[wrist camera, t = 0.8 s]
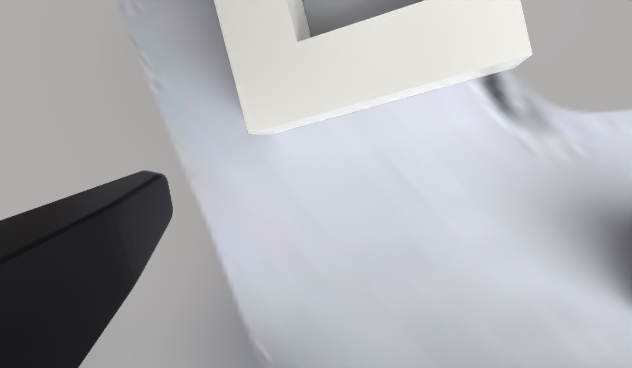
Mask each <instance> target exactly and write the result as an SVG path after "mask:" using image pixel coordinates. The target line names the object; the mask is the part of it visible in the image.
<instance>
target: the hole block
mask: <svg viewBox="0 0 632 368" xmlns="http://www.w3.org/2000/svg"><path fill="white" fill-rule="evenodd" d="M214 3H215V7H216V11H217V14H218V18H219V22H220V26H221V30H222V34H223V38H224V42H225V46H226V49H227V53H228V57H229V61H230V65H231V69H232V73H233V77H234V80H235V84H236V88H237V92H238V96H239V100H240V104H241V108H242V112H243V115H244V119H245V123H246V127H247V131H248V134H276V133H280V132H283V131H287V130H290V129H294V128H298V127H301V126H305V125H309V124H312V123H316V122H319V121H323V120H327V119H330V118H334V117H338V116H341V115H345V114H349V113H352V112H356V111H359V110H363V109H367V108H370V107H374V106H378V105H381V104H385V103H388V102H392V101H396V100H399V99H403V98H407V97H410V96H414V95H418V94H421V93H425V92H428V91H432V90H436V89H439V88H443V87H447V86H450V85H454V84H458V83H461V82H465V81H468V80H472V79H476V78H479V77H483V76H487V75H490V74H494V73H497V72H501V71H505V70H508V69H512V68H515V67H516V66H517V65H519V64H520V63H521V62H523V61H524V60H525V59H527V58H528V57H530V56H531V55H532V51H531V46H530V42H529V38H528V33H527V28H526V24H525V19H524V15H523V11H522V6H521V2H520V0H423V1H421V2H418V3H415V4H412V5H409V6H406V7H403V8H400V9H397V10H394V11H391V12H388V13H385V14H382V15H379V16H375V17H372V18H369V19H366V20H363V21H360V22H357V23H354V24H351V25H348V26H345V27H342V28H339V29H336V30H333V31H330V32H327V33H323V34H320V35H317V36H314V37H311V34H310V30H309V26H308V22H307V18H306V14H305V10H304V6H303V2H302V0H214Z"/></svg>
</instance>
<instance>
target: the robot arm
mask: <svg viewBox="0 0 632 368" xmlns="http://www.w3.org/2000/svg"><path fill="white" fill-rule="evenodd" d="M172 213H173V206H172V201H171V196H170V190H169V185H168V181H167V178H166V177H165V175H163V174H161V173H156V172H152V171H140V172H138V173H135V174H132V175H129V176H126V177H123V178H120V179H118V180H115V181H112V182H109V183H106V184H103V185H100V186H97V187H95V188H92V189H89V190H86V191H83V192H80V193H78V194H75V195H72V196H69V197H66V198H63V199H60V200H58V201H55V202H52V203H49V204H46V205H43V206H41V207H38V208H35V209H32V210H29V211H26V212H23V213H20V214H18V215H15V216H12V217H9V218H6V219H4V220H0V368H78V367H79V366H80V364H81V363H82V361H83V360H84V359H85V357H86V356H87V354H88V353H89V351H90V350H91V348H92V347H93V346H94V344H95V342H96V341H97V340H98V338H99V337H100V335H101V334H102V332H103V331H104V329H105V328H106V327H107V325H108V324H109V322H110V320H111V319H112V318H113V316H114V315H115V314H116V312H117V311H118V309H119V308H120V306H121V305H122V303H123V302H124V301H125V299H126V298H127V296H128V295H129V293H130V292H131V290H132V289H133V287H134V285H135V284H136V282H137V280H138V279H139V277H140V275H141V274H142V272H143V270H144V268H145V266H146V265H147V263H148V261H149V259H150V257H151V255H152V253H153V252H154V250H155V248H156V246H157V244H158V243H159V241H160V239H161V237H162V235H163V233H164V231H165V230H166V228H167V226H168V224H169V222H170V220H171V218H172Z"/></svg>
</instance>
